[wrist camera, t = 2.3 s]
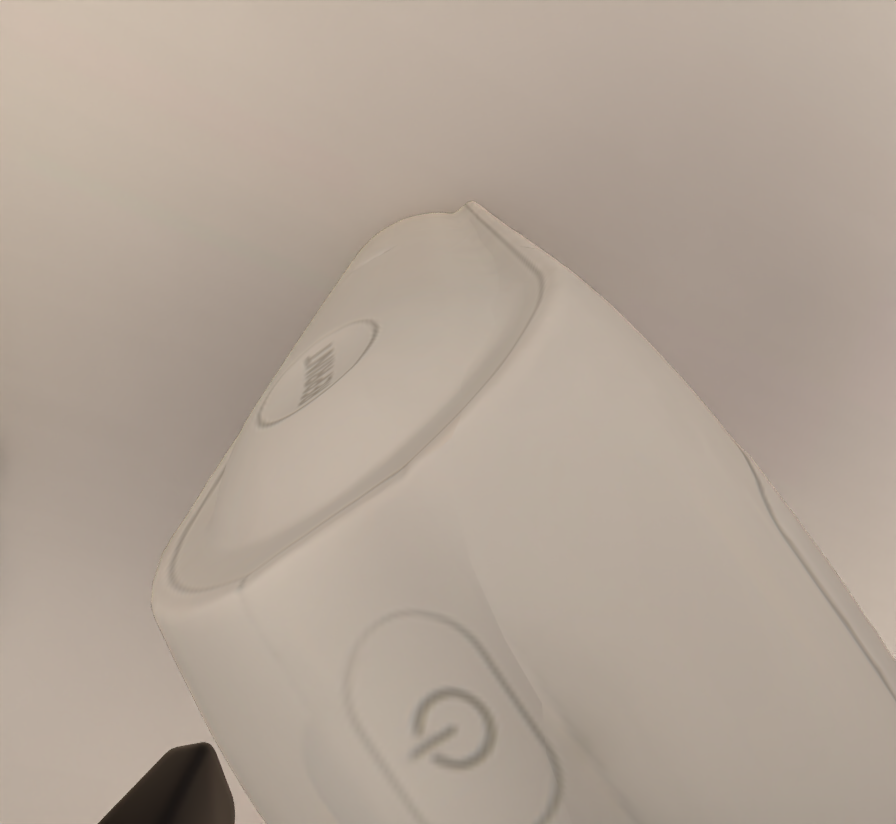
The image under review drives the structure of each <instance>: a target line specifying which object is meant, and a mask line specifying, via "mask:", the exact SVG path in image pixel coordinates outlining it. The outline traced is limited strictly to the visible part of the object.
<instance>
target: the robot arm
mask: <svg viewBox="0 0 896 824" xmlns="http://www.w3.org/2000/svg"><path fill="white" fill-rule="evenodd" d="M234 823H235V808H234V801H233V797H232V794H231V791H230V788H229V786H228V783H227V781H226V778H225V775H224V773H223V770H222V767H221V765H220V762H219V759H218V757H217V754H216V752H215V750H214V748H213V747H212V746H211V745H210V744H209V743H205V742H201V743H196V744H190V745H185V746H180V747H176V748H173V749H171V750H169V751H168V752H167V753H166V754H165V755H164V756H163V757H162V758H161V759H160V760H159V761H158V762H157V763H156V764H155V765H154V766H153V767H152V768H151V769H150V770H149V771H148V772H147V773H146V774H145V775H144V776H143V777H142V778H141V780H140V781H139V782H138V783H137V784H136V785H135V786H134V787H133V788H132V789H131V790H130V791H129V792H128V793H127V794H126V795H125V796H124V797H123V798H122V799H121V800H120V801H119V802H118V803H117V804H116V805H115V806H114V807H113V808H112V810H111V811H110V812H109V813H108V814H107V815H106V816H105V817H104V818H103V819H102V820H101V821H100V822H99V823H98V824H234Z"/></svg>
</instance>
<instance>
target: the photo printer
mask: <svg viewBox="0 0 896 824" xmlns="http://www.w3.org/2000/svg"><path fill="white" fill-rule="evenodd" d="M151 607H152V611H153V615H154V618H155V620H156V622H157V624H158V626H159V628H160V631H161V633H162V635H163V637H164V639H165V641H166V643H167V646H168V648H169V650H170V652H171V654H172V656H173V658H174V660H175V662H176V664H177V666H178V668H179V670H180V672H181V674H182V676H183V679H184V681H185V683H186V685H187V687H188V689H189V691H190V693H191V695H192V697H193V699H194V701H195V703H196V705H197V707H198V709H199V711H200V713H201V715H202V717H203V719H204V721H205V723H206V725H207V727H208V729H209V731H210V732H211V734H212V736H213V738H214V740H215V741H216V743H217V745H218V747H219V748H220V750H221V752H222V754H223V755H224V757H225V759H226V761H227V762H228V764H229V766H230V768H231V769H232V771H233V773H234V774H235V776H236V778H237V779H238V781H239V782H240V784H241V786H242V787H243V789H244V790H245V792H246V794H247V795H248V797H249V798H250V800H251V802H252V803H253V805H254V806H255V808H256V810H257V811H258V813H259V814H260V816H261V817H262V818H263V820H264V821H265V822H266V824H896V661H895V659H894V658H893V656H892V655H891V654H890V652H889V651H888V649H887V648H886V646H885V644H884V643H883V641H882V640H881V638H880V636H879V635H878V633H877V631H876V630H875V628H874V627H873V626H872V625H871V623H870V622H869V621H868V619H867V618H866V616H865V615H864V613H863V612H862V610H861V608H860V607H859V605H858V604H857V602H856V601H855V599H854V598H853V596H852V595H851V593H850V592H849V591H848V589H847V588H846V586H845V585H844V583H843V582H842V580H841V579H840V577H839V576H838V575H837V573H836V572H835V570H834V569H833V567H832V566H831V564H830V563H829V562H828V560H827V559H826V557H825V556H824V555H823V553H822V552H821V550H820V549H819V548H818V546H817V545H816V543H815V542H814V541H813V539H812V538H811V537H810V535H809V534H808V532H807V531H806V530H805V528H804V527H803V526H802V524H801V523H800V521H799V520H798V519H797V517H796V516H795V515H794V513H793V512H792V510H791V509H790V508H789V507H788V505H787V504H786V503H785V501H784V500H783V499H782V497H781V496H780V495H779V493H778V492H777V491H776V489H775V488H774V487H773V485H772V484H771V483H770V481H769V480H768V479H767V478H766V476H765V475H764V474H763V472H762V471H761V470H760V468H759V467H758V466H757V464H756V463H755V462H754V460H753V459H752V458H751V456H750V455H749V454H748V453H747V452H746V451H745V450H744V449H743V448H742V447H740V446H739V445H738V444H737V443H736V442H735V441H734V440H733V438H732V437H731V435H730V434H729V433H728V432H727V431H726V430H725V429H724V428H723V427H722V425H721V423H720V422H719V420H718V419H717V418H716V417H715V416H714V415H713V413H712V412H711V411H710V410H709V409H708V407H707V406H706V405H705V404H704V403H703V402H702V400H701V399H700V398H699V397H698V396H697V395H696V393H695V392H694V391H693V390H692V389H691V387H690V386H689V385H688V384H687V383H686V382H685V380H684V379H683V378H682V377H681V376H680V375H679V374H678V373H677V372H676V371H675V370H674V369H673V367H672V366H671V365H670V364H669V363H668V362H667V361H666V360H665V359H664V358H663V357H662V356H661V355H660V354H659V352H658V351H657V350H656V349H655V348H654V347H653V346H652V345H651V344H650V343H649V342H648V341H647V340H646V339H645V338H644V337H643V336H642V335H641V334H640V333H639V332H638V331H637V330H636V329H635V328H634V327H633V326H632V325H631V324H630V323H629V322H628V321H627V320H626V319H625V318H624V317H623V316H622V315H621V314H620V313H619V312H618V311H617V310H616V309H615V308H614V307H613V306H612V305H611V304H610V303H609V302H608V301H607V300H605V299H604V298H603V297H602V296H601V295H600V294H598V293H597V292H596V291H595V290H594V289H593V288H591V287H590V286H589V285H588V284H587V283H586V282H585V281H583V280H582V279H581V278H580V277H579V276H578V275H576V274H575V273H574V272H572V271H571V270H570V269H568V268H567V267H565V266H564V265H563V264H561V263H560V262H559V261H558V260H556V259H555V258H554V257H552V256H551V255H549V254H547V253H546V252H545V251H544V250H543V249H541V248H539V247H537V246H536V245H535V244H533V243H532V242H531V241H529V240H528V239H527V238H525V237H523V236H522V235H521V234H520V233H518V232H516V231H515V230H513V229H512V228H510V227H509V226H507V225H506V224H504V223H503V222H502V221H501V220H499V219H498V218H496V217H495V216H494V215H493V214H491V213H490V212H488V211H487V210H486V209H484V208H483V207H482V206H481V205H480V204H478V203H477V202H475V201H469V202H467V203H466V204H465V205H464V206H463V207H462V208H460V209H459V210H458V211H456V212H455V213H442V212H440V213H425V214H420V215H415V216H411V217H408V218H405V219H402V220H400V221H398V222H396V223H394V224H392V225H390V226H388V227H386V228H385V229H383V230H382V231H381V232H379V233H378V234H376V235H375V236H374V237H373V238H372V239H371V240H370V241H369V242H368V243H367V244H366V245H365V246H364V247H363V248H362V249H361V250H360V251H359V253H358V254H357V255H356V257H355V258H354V260H353V261H352V262H351V264H350V265H349V267H348V268H347V269H346V271H345V272H344V274H343V275H342V277H341V278H340V279H339V281H338V282H337V284H336V285H335V287H334V288H333V289H332V291H331V292H330V294H329V295H328V297H327V298H326V299H325V301H324V302H323V304H322V305H321V307H320V308H319V310H318V311H317V313H316V314H315V316H314V317H313V319H312V320H311V322H310V323H309V325H308V326H307V328H306V329H305V331H304V332H303V334H302V335H301V337H300V338H299V340H298V341H297V343H296V344H295V346H294V347H293V349H292V350H291V352H290V353H289V355H288V356H287V358H286V359H285V361H284V362H283V364H282V365H281V367H280V368H279V370H278V371H277V373H276V374H275V376H274V378H273V379H272V381H271V382H270V384H269V385H268V387H267V388H266V390H265V391H264V393H263V394H262V396H261V397H260V399H259V401H258V402H257V404H256V405H255V407H254V408H253V410H252V412H251V413H250V415H249V416H248V418H247V419H246V421H245V423H244V425H243V427H242V429H241V431H240V433H239V435H238V436H237V438H236V439H235V440H234V442H233V443H232V445H231V446H230V448H229V449H228V451H227V452H226V454H225V456H224V457H223V459H222V460H221V462H220V463H219V465H218V467H217V468H216V470H215V471H214V473H213V474H212V476H211V477H210V478H209V480H208V481H207V483H206V485H205V486H204V488H203V490H202V492H201V493H200V495H199V497H198V498H197V500H196V501H195V503H194V505H193V506H192V508H191V509H190V511H189V513H188V514H187V516H186V517H185V518H184V520H183V521H182V523H181V524H180V526H179V527H178V529H177V530H176V532H175V533H174V534H173V536H172V538H171V539H170V541H169V543H168V544H167V546H166V548H165V549H164V551H163V553H162V555H161V558H160V561H159V564H158V567H157V571H156V574H155V577H154V580H153V583H152V595H151Z"/></svg>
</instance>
